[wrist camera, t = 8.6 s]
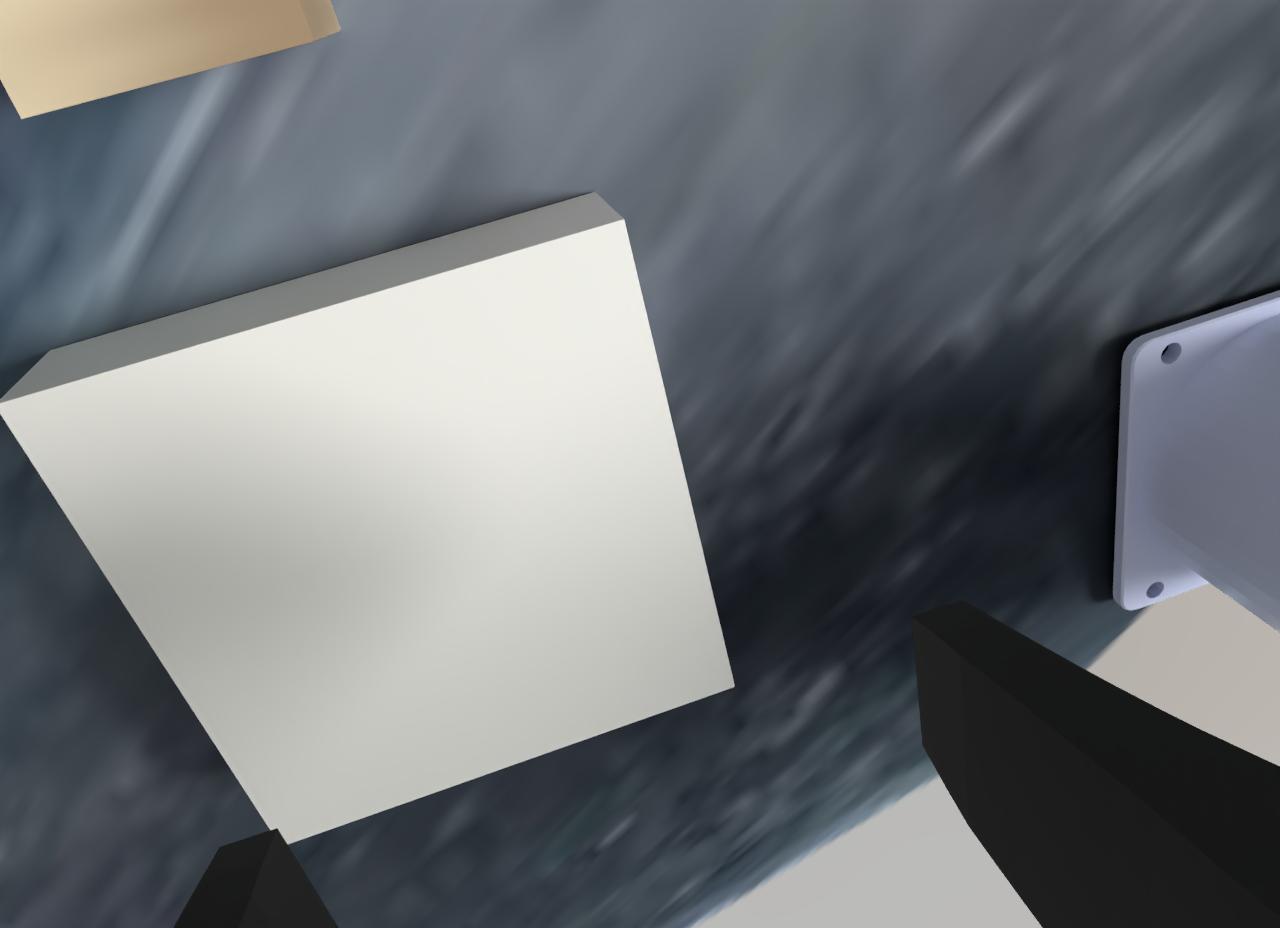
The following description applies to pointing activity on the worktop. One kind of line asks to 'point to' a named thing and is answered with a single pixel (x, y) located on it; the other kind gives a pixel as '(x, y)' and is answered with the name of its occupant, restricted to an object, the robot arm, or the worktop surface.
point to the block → (138, 43)
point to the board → (394, 511)
